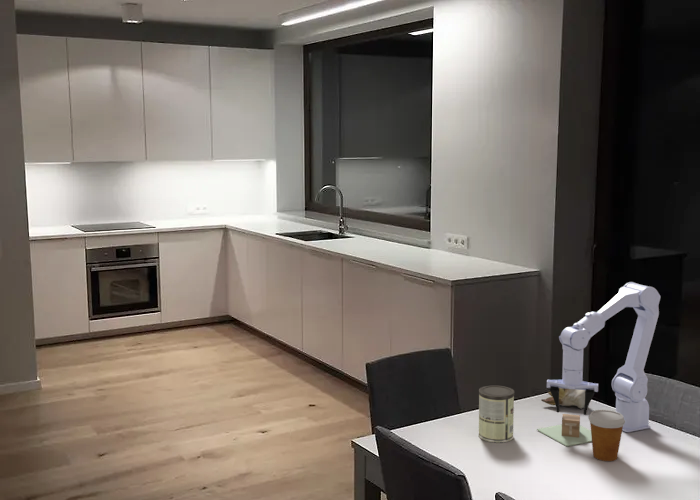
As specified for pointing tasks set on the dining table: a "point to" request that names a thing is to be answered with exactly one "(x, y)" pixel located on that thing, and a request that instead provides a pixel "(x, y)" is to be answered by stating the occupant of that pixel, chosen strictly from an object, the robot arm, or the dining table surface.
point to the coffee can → (496, 413)
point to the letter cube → (570, 425)
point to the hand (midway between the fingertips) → (571, 412)
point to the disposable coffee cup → (606, 433)
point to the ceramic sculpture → (568, 398)
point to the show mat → (556, 434)
